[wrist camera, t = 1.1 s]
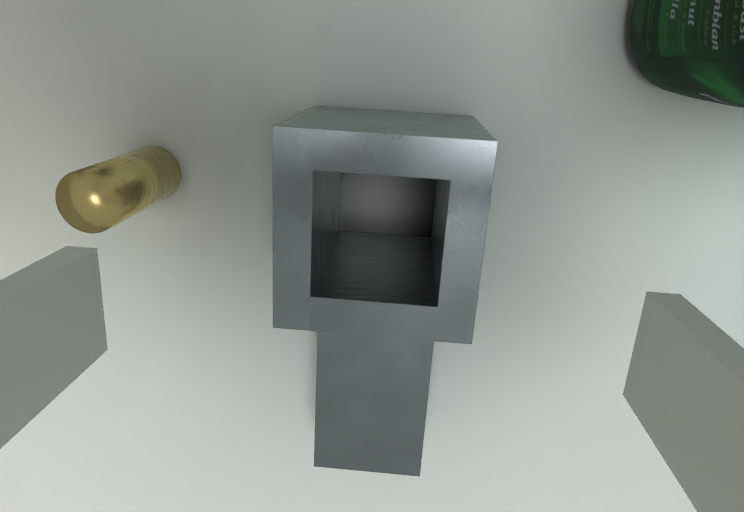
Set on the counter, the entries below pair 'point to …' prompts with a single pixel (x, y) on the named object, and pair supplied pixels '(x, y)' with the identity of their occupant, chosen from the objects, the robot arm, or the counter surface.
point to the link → (377, 271)
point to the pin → (116, 188)
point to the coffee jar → (691, 47)
